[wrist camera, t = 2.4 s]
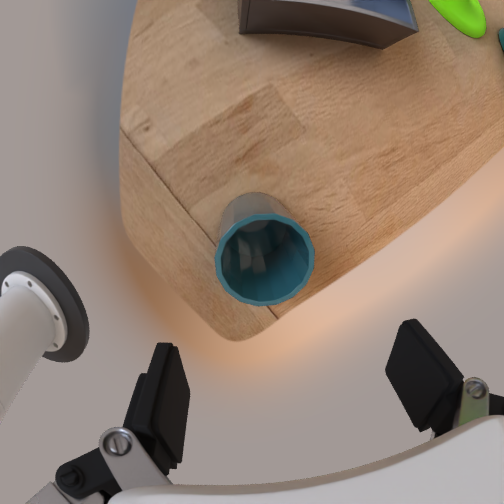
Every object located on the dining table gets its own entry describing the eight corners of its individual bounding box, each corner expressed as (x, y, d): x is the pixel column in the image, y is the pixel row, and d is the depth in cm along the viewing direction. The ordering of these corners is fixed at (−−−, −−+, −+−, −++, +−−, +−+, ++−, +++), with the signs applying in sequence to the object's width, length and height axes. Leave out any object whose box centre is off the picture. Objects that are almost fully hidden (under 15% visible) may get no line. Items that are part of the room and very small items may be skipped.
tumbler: (223, 259, 27) (220, 309, 19) (217, 194, 25) (210, 217, 16) (288, 255, 28) (312, 301, 19) (288, 190, 25) (316, 211, 17)
